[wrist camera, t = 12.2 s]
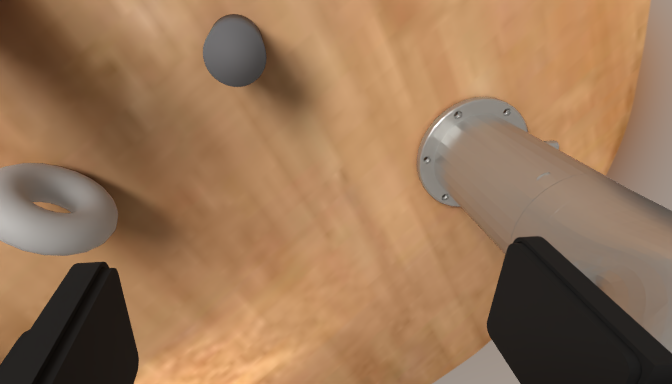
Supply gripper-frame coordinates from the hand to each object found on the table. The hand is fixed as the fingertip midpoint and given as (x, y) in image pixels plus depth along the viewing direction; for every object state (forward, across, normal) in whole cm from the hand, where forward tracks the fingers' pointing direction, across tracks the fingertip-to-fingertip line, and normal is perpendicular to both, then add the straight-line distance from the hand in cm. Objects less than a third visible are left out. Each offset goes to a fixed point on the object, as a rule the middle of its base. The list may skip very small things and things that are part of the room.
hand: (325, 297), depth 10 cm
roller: (+31, +4, -2) cm, 31 cm away
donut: (+31, +19, +10) cm, 37 cm away
